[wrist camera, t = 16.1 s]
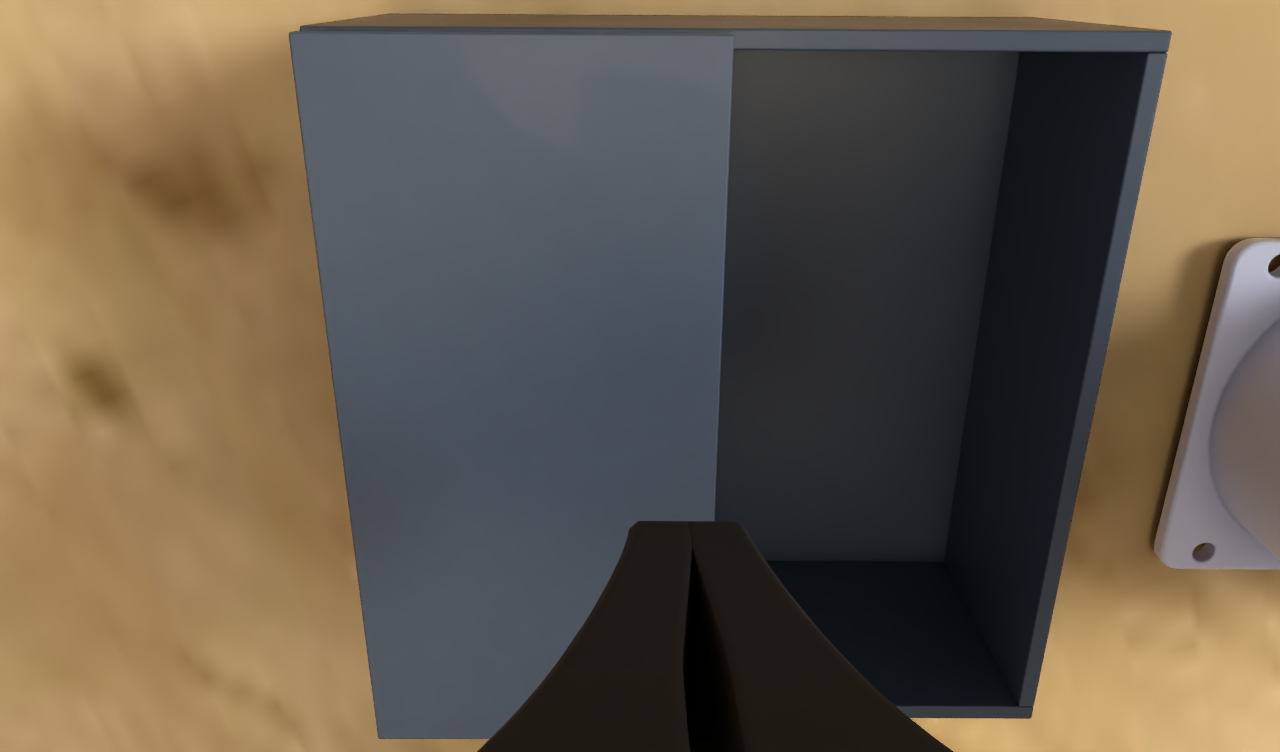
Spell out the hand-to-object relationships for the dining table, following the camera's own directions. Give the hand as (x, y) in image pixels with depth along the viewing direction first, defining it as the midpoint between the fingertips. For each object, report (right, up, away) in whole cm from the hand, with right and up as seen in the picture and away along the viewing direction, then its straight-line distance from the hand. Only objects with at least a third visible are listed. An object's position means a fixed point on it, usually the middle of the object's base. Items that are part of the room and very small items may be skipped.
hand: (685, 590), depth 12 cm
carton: (+1, +4, +9) cm, 10 cm away
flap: (-2, +2, +4) cm, 5 cm away
